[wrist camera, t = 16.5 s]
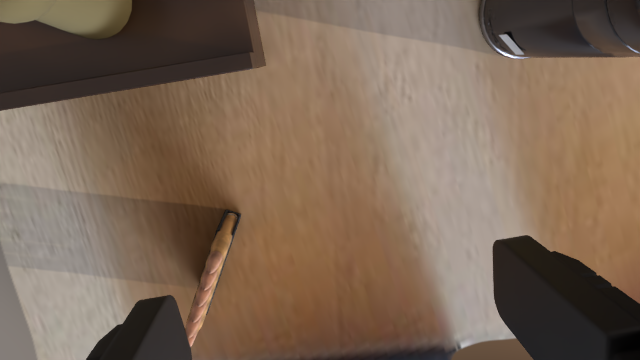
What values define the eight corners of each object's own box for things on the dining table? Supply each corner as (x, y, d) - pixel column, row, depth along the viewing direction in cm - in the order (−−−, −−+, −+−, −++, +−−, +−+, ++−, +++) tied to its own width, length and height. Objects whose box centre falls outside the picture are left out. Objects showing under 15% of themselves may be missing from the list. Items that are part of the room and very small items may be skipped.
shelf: (-1, -52, 36) (-154, -109, 24) (236, -90, 37) (205, -167, 24) (54, 100, 41) (-53, 119, 28) (266, 65, 41) (252, 68, 28)
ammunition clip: (225, 208, 45) (202, 260, 34) (241, 213, 45) (223, 266, 34) (200, 286, 48) (170, 359, 36) (215, 291, 48) (190, 363, 37)
